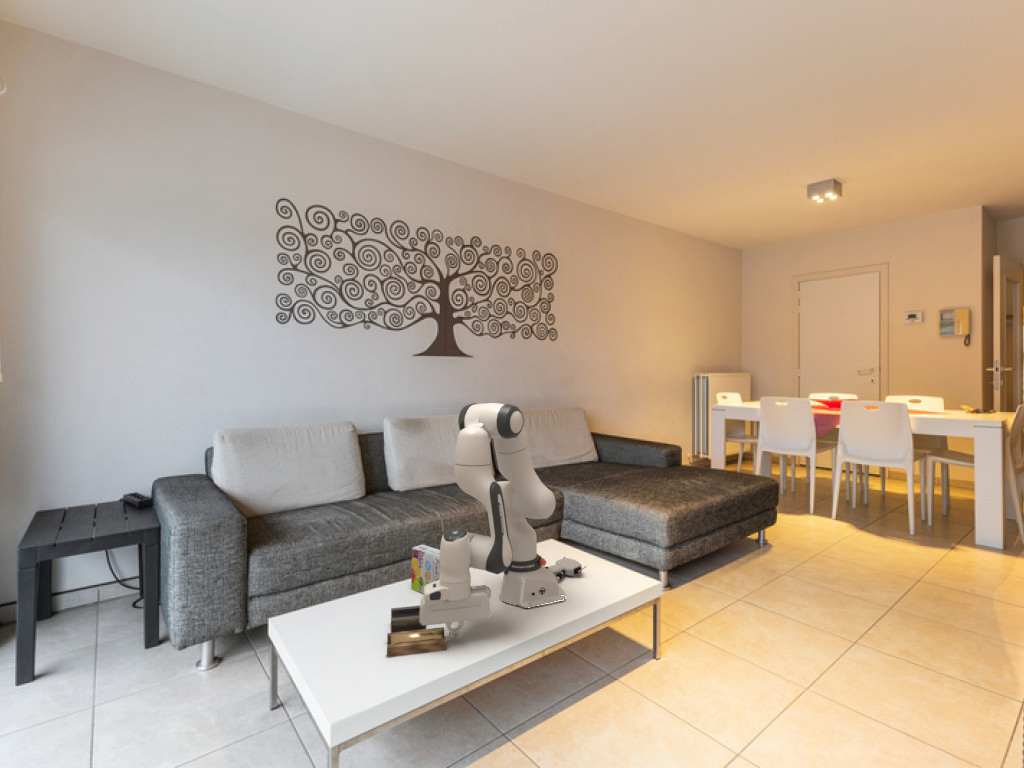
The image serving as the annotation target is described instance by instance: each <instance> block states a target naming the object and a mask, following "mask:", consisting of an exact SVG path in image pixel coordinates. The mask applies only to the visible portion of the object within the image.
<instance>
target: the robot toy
mask: <svg viewBox="0 0 1024 768" xmlns="http://www.w3.org/2000/svg"><path fill="white" fill-rule="evenodd" d="M582 566H583V565H582V563H580V562H579V561H578V560H576V559H572V558H569V557H566V556H563V557H562V558H560V559H557V560H556V561H555V564H554V565H550V566H544V567H545V568H546V569H548V570H549V571H550V572H552V573H553V574H554V575H555V577H556V579H557V581H561V580H562V579H563V576H564V575H566V576H571V577H575V576H577V575H579V574H581V573H582V571H583V570H584V569H586V567H587V565H585V566H583V567H582ZM576 574H577V575H576ZM574 575H575V576H574Z"/></svg>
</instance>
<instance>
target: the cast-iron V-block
mask: <svg viewBox="0 0 1024 768" xmlns="http://www.w3.org/2000/svg"><path fill="white" fill-rule="evenodd" d="M390 610H391V612H390V613H391V615H390V633H394V632H403V631H413V630H422V629H427V625H425V626H423V625H421V624H420V622H419V610H420V605H413V606H402V607H392V608H391V609H390Z"/></svg>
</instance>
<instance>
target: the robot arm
mask: <svg viewBox="0 0 1024 768" xmlns="http://www.w3.org/2000/svg"><path fill="white" fill-rule="evenodd" d="M457 421H458V427H459V432H458V435H457V438H456V444H455V452H454V461H453V462H454V463H453V464H454V465H453V466H454V467H453V476H454V480H455V483H456V484H457V486H458V487H459V488H460V489H461V490H462V491H463V492H464V493H465V494H468V495H470V496H471V497H473V498H475V499H476V500H477V501H479V502H480V503H481V504H482V505H483V507H484V508H485V509H486V511H487V515H488V516H487V518H488V524H489V526H488V527H489V531H490V532H489V533H490V536H489V535H483V534H478V533H473V532H469V531H468V530H467V529H465V528H463V527H454V528H450V529H448V530H446V531H445V532H444V533H443V534H442V536H441V540H440V547H439V550H440V566H441V574H440V579H439V580H437V581H434V582H432V583H429V584H427V585H425V586H424V594H423V596H422V597H421V600H420V604H419V606H420V610H419V622H420V624H421V625H423V626H425V625H426V626H432V625H442V624H445V625H446V628H447V629H448V631H449V638H456V637H457V638H458V637H461V635H462V634H461V631H462V630H463V627H464V626H465V622H469V621H470V622H471V621H478V620H480V621H481V620H488V619H489V618H490V617H491V613H492V612H491V603H490V599H491V597H492V589H491V588H490V587H489V586H487V585H486V584H482V585H472V584H471V580H472V577H471V571H470V569H472V568H473V569H478V570H481V571H486V572H488V573H491V574H495V575H500V574H502V573H503V579H502V583H501V585H502V586H501V589H500V593H499V599H500V598H501V599H500V600H501V601H502V602H503V601H504V603H505V602H506V604H507V603H509V604H508V605H511V604H513V605H512V606H516V605H519V606H521V607H520V608H522V607H524V608H528V607H533V606H537V605H541V604H545V603H550V602H554V601H558V600H563V599H565V596H566V593H565V590H564V589H563V588H562V587H561V586H560V585H559V582H558V581H559V580H557V579H556V577H555V575H554V574H553V573H552V572H550V571H549V570H548V569H546V568H545V567H546V565H547V561H546V560H545V558H543V557H542V556H541V555H539V554H538V551H537V550H538V549H537V546H538V543H537V542H538V541H537V539H538V538H537V533H536V530H535V529H534V528H533V527H532V526H531V525H530V523H529V522H528V521H527V519H532V520H546V519H548V518H549V517H551V516H552V514H553V513H554V511H555V509H556V504H557V503H556V497H555V494H554V492H553V491H552V490H551V489H549V488H548V487H547V486H546V485H545V484H544V483H543V481H542V480H541V479H540V477H539V476H538V475H537V472H536V471H535V468H534V467H533V463H532V457H531V454H530V449H529V443H528V437H527V434H526V430H525V426H524V423H525V421H524V414H523V412H522V410H520V408H519V407H518V406H516V405H514V404H509V403H505V404H504V403H498V402H489V403H488V402H485V403H483V402H482V403H474V402H473V403H469V404H465V406H463V408H462V409H461V410H460V412H459V415H458V420H457ZM492 439H493V443H494V450H495V456H496V461H497V466H498V471H499V473H500V474H501V475H502V476H503V477H504V478H505V479H506V480H504V481H502V480H501V481H496V480H495V477H494V475H493V470H492V450H491V442H492ZM526 518H527V519H526ZM561 595H564V596H561ZM565 600H566V599H565ZM519 606H518V607H519ZM524 608H523V609H524ZM452 623H459V624H458V626H457V627H452Z"/></svg>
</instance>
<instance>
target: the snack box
mask: <svg viewBox="0 0 1024 768" xmlns="http://www.w3.org/2000/svg"><path fill="white" fill-rule="evenodd" d="M440 574H441V566H440V549H438V548H435V547H433V546H432V547H431V546H428V545H426V544H422V543H421V544H420V545H416V546H413V547H411V577H410V579H411V582H410V583H411V584H410V585H411V588H410V589H411V590H413V591H415V592H418V593H420V594H423V595H424V586H425V585H427V584H429V583H432V582H434V581H437V580H439V579H440Z"/></svg>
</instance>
